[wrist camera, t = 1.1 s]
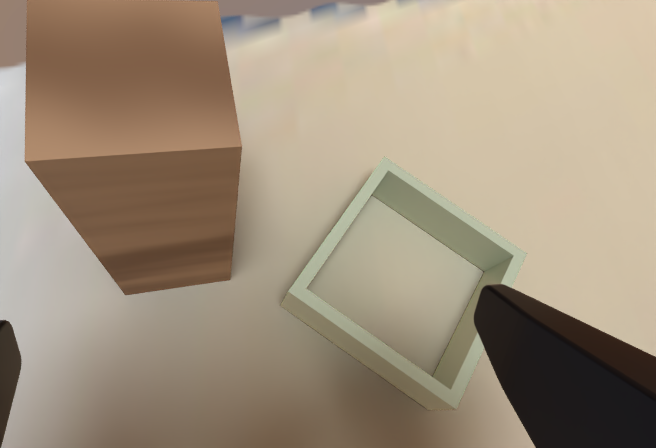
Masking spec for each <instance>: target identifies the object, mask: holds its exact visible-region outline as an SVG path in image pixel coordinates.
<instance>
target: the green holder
mask: <svg viewBox="0 0 656 448" xmlns="http://www.w3.org/2000/svg"><path fill="white" fill-rule="evenodd" d="M371 195H373V196H375V197H376V198H378V199H379V200H380V201H382V202H383V203H385V204H386V205H388V206H389V207H391V208H392V209H394V210H395V211H396V212H398V213H399V214H401V215H402V216H404V217H405V218H407V219H408V220H410V221H411V222H412V223H414V224H415V225H417V226H418V227H420V228H421V229H423V230H424V231H426V232H427V233H429V234H430V235H431V236H433V237H434V238H436V239H437V240H439V241H440V242H442V243H443V244H445V245H446V246H447V247H449V248H450V249H452V250H453V251H455V252H456V253H458V254H459V255H461V256H462V257H464V258H465V259H466V260H468V261H469V262H471V263H472V264H474V265H475V266H477V267H478V268H480V269H481V270H482V271H484V274H483V276H482V278H481V280H480V282H479V284H478V286H477V288H476V290H475V292H474V294H473V296H472V298H471V300H470V302H469V304H468V306H467V308H466V310H465V312H464V314H463V316H462V318H461V320H460V322H459V324H458V326H457V328H456V330H455V332H454V334H453V336H452V338H451V340H450V342H449V344H448V346H447V348H446V350H445V352H444V354H443V356H442V358H441V360H440V362H439V364H438V366H437V368H436V370H435V372H434V374H433V376H430V375H429V374H427V373H426V372H425V371H423V370H422V369H420V368H419V367H417V366H416V365H415V364H413V363H412V362H410V361H409V360H407V359H406V358H405V357H403V356H402V355H400V354H399V353H397V352H396V351H395V350H393V349H392V348H390V347H389V346H388V345H386V344H385V343H383V342H382V341H380V340H379V339H378V338H376V337H375V336H373V335H372V334H370V333H369V332H368V331H366V330H365V329H363V328H362V327H360V326H359V325H358V324H356V323H355V322H353V321H352V320H350V319H349V318H348V317H346V316H345V315H343V314H342V313H340V312H339V311H338V310H336V309H335V308H333V307H332V306H331V305H329V304H328V303H326V302H325V301H323V300H322V299H321V298H319V297H318V296H316V295H315V294H313V293H312V292H311V291H309V290H308V289H306V288H307V287H308V285H309V284H310V282H311V281H312V280H313V278H314V277H315V275H316V274H317V272H318V271H319V270H320V268H321V267H322V265H323V264H324V262H325V261H326V259H327V258H328V257H329V255H330V254H331V252H332V251H333V249H334V248H335V246H336V245H337V244H338V242H339V241H340V239H341V238H342V236H343V235H344V234H345V232H346V231H347V229H348V228H349V226H350V225H351V223H352V222H353V221H354V219H355V218H356V216H357V215H358V213H359V212H360V210H361V209H362V208H363V206H364V205H365V203H366V202H367V200H368V199H369V198H370V196H371ZM526 255H527V253H526V252H524V251H523V250H521V249H520V248H518V247H517V246H515V245H514V244H512V243H511V242H510V241H508V240H507V239H505V238H504V237H502V236H501V235H499V234H498V233H496V232H495V231H493V230H492V229H490V228H489V227H488V226H486V225H485V224H483V223H482V222H480V221H479V220H477V219H476V218H474V217H473V216H471V215H470V214H468V213H467V212H465V211H464V210H463V209H461V208H460V207H458V206H457V205H455V204H454V203H452V202H451V201H449V200H448V199H446V198H445V197H443V196H442V195H441V194H439V193H438V192H436V191H435V190H433V189H432V188H430V187H429V186H427V185H426V184H424V183H423V182H421V181H420V180H418V179H417V178H416V177H414V176H413V175H411V174H410V173H408V172H407V171H405V170H404V169H402V168H401V167H399V166H398V165H396V164H395V163H393V162H392V161H391V160H389V159H388V158H386V157H385V156H384V158H383V159H382V160H381V162H380V163H379V165H378V166H377V167H376V169H375V170H374V172H373V173H372V174H371V176H370V177H369V179H368V180H367V181H366V183H365V184H364V186H363V187H362V188H361V190H360V191H359V193H358V194H357V195H356V197H355V198H354V200H353V201H352V202H351V204H350V205H349V207H348V208H347V209H346V211H345V212H344V214H343V215H342V216H341V218H340V219H339V221H338V222H337V223H336V225H335V226H334V228H333V229H332V231H331V232H330V233H329V235H328V236H327V238H326V239H325V240H324V242H323V243H322V245H321V246H320V247H319V249H318V250H317V252H316V253H315V254H314V256H313V257H312V259H311V260H310V261H309V263H308V264H307V266H306V267H305V268H304V270H303V271H302V273H301V274H300V275H299V277H298V278H297V280H296V281H295V282H294V284H293V285H292V287H291V288H290V289H289V291H288V292H287V294H286V296H285V298H284V300H283V301H282V303H281V305H280V306H281V307H283V308H284V309H286V310H287V311H289V312H290V313H291V314H293V315H294V316H296V317H297V318H298V319H300V320H301V321H303V322H304V323H306V324H307V325H308V326H310V327H311V328H313V329H314V330H315V331H317V332H318V333H320V334H321V335H323V336H324V337H325V338H327V339H328V340H330V341H331V342H332V343H334V344H335V345H337V346H338V347H340V348H341V349H342V350H344V351H345V352H347V353H348V354H349V355H351V356H352V357H354V358H355V359H357V360H358V361H359V362H361V363H362V364H364V365H365V366H366V367H368V368H369V369H371V370H372V371H374V372H375V373H376V374H378V375H379V376H381V377H382V378H383V379H385V380H386V381H388V382H389V383H391V384H392V385H393V386H395V387H396V388H398V389H399V390H400V391H402V392H403V393H405V394H406V395H408V396H409V397H410V398H412V399H413V400H415V401H416V402H417V403H419V404H420V405H422V406H423V407H425V408H426V409H427V410H429V411H431V410H456V409H457V407H458V405H459V403H460V401H461V398H462V396H463V394H464V392H465V390H466V387H467V385H468V383H469V381H470V378H471V376H472V374H473V372H474V370H475V367H476V365H477V363H478V361H479V359H480V356H481V354H482V352H483V350H484V346H483V344H482V341H481V339H480V337H479V335H478V332H477V330H476V328H475V325H474V312H475V309H476V305H477V302H478V298H479V295H480V292H481V289H482V288H483V287H484V286H485V285H488V284H504V285H506V286H509V287H511V288H512V286H513V284H514V282H515V279H516V277H517V275H518V273H519V271H520V268H521V266H522V264H523V262H524V260H525V257H526Z"/></svg>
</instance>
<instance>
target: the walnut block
mask: <svg viewBox="0 0 656 448" xmlns="http://www.w3.org/2000/svg"><path fill="white" fill-rule="evenodd" d="M26 39H27V40H26V108H25V162H26V164H27V165H28V166H29V168H30V169H31V170H32V172H33V173H34V174H35V176H36V177H37V178H38V180H39V181H40V182H41V184H42V185H43V186H44V188H45V189H46V190H47V192H48V193H49V194H50V196H51V197H52V198H53V200H54V201H55V202H56V204H57V205H58V206H59V207H60V209H61V210H62V211H63V213H64V214H65V215H66V217H67V218H68V219H69V221H70V222H71V223H72V225H73V226H74V227H75V229H76V230H77V231H78V233H79V234H80V235H81V237H82V238H83V239H84V241H85V242H86V243H87V245H88V246H89V247H90V249H91V250H92V251H93V253H94V254H95V255H96V257H97V258H98V259H99V261H100V262H101V263H102V265H103V266H104V267H105V269H106V270H107V271H108V273H109V274H110V275H111V277H112V278H113V279H114V281H115V282H116V283H117V284H118V286H119V287H120V288H121V290H122V291H123V292H124V294H125V295H130V294H137V293H144V292H150V291H157V290H164V289H171V288H178V287H185V286H192V285H198V284H205V283H212V282H219V281H226V280H230V276H231V264H232V253H233V241H234V230H235V219H236V207H237V196H238V185H239V173H240V162H241V150H242V144H241V138H240V132H239V126H238V121H237V115H236V109H235V103H234V97H233V91H232V85H231V79H230V73H229V67H228V61H227V55H226V49H225V43H224V37H223V31H222V25H221V19H220V13H219V7H218V2H217V1H172V0H171V1H170V0H27V37H26Z"/></svg>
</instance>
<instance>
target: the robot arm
mask: <svg viewBox="0 0 656 448" xmlns="http://www.w3.org/2000/svg"><path fill="white" fill-rule="evenodd" d="M474 325H475V328H476V330H477V332H478V335H479V337H480V339H481V341H482V344H483V346H484V348H485V351H486V353H487V355H488V357H489V360H490V362H491V364H492V366H493V369H494V371H495V373H496V376H497V378H498V380H499V382H500V384H501V386H502V388H503V390H504V392H505V394H506V396H507V398H508V399H509V401H510V403H511V405H512V406H513V408H514V410H515V412H516V414H517V415H518V417H519V419H520V421H521V422H522V424H523V426H524V428H525V430H526V431H527V433H528V435H529V437H530V438H531V440H532V442H533V444H534V445H535V447H536V448H656V357H655V356H653V355H651V354H648V353H646V352H644V351H642V350H640V349H638V348H636V347H634V346H632V345H630V344H628V343H625V342H623V341H621V340H619V339H617V338H615V337H613V336H611V335H609V334H607V333H605V332H602V331H600V330H598V329H596V328H594V327H592V326H590V325H588V324H586V323H584V322H582V321H580V320H577V319H575V318H573V317H571V316H569V315H567V314H565V313H563V312H561V311H559V310H557V309H554V308H552V307H550V306H548V305H546V304H544V303H542V302H540V301H538V300H536V299H534V298H531V297H529V296H527V295H525V294H523V293H521V292H519V291H517V290H515V289H513V288H511V287H509V286H506V285H504V284H488V285H485V286H484V287H483V288H482V289H481V292H480V295H479V298H478V302H477V305H476V309H475V312H474ZM20 370H21V355H20V351H19V348H18V345H17V341H16V338H15V334H14V331H13V328H12V325H11V324H10V322H8V321H6V320H0V448H1V445H2V442H3V438H4V434H5V430H6V426H7V422H8V418H9V414H10V410H11V406H12V402H13V398H14V394H15V390H16V386H17V382H18V379H19V375H20Z"/></svg>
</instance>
